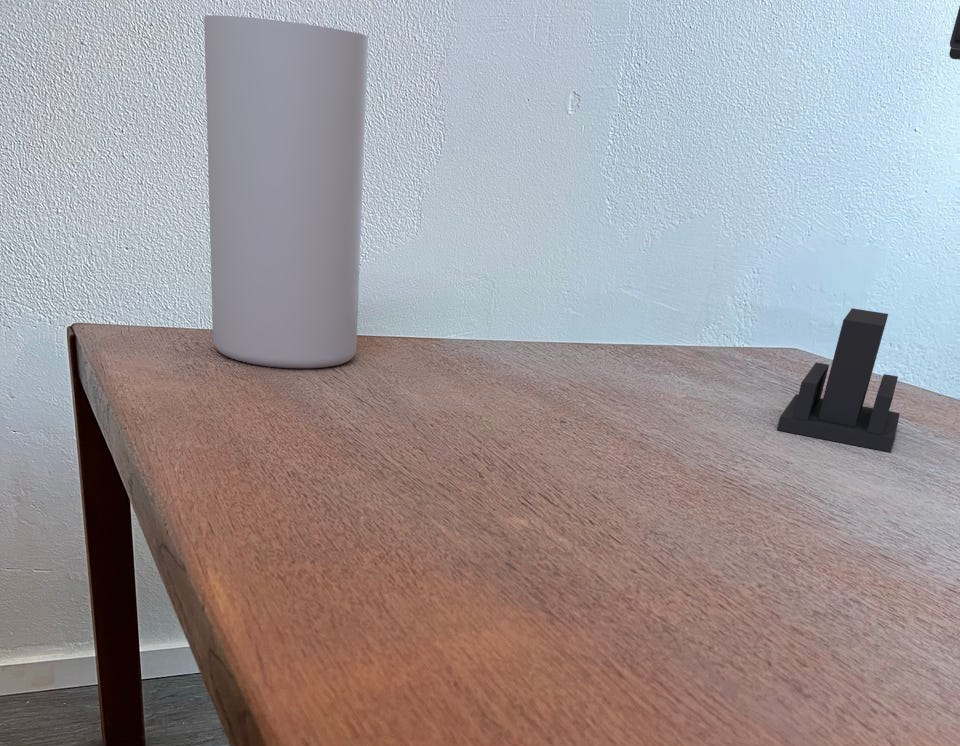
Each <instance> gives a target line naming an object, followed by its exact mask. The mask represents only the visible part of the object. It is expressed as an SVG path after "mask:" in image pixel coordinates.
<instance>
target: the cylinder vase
mask: <svg viewBox="0 0 960 746" xmlns="http://www.w3.org/2000/svg"><path fill="white" fill-rule="evenodd" d="M203 22H204V23H203V25H204V29H203V30H204V58H205V59H204V60H205V63H204V64H205V97H206V98H205V99H206V132H207V136H206V137H207V138H206V139H207V169H208V170H207V172H208V173H207V175H208V205H209V208H208V209H209V212H208V213H209V241H210V243H209V245H210V278H211V279H210V280H211V284H210V285H211V314H212V315H211V316H212V317H211V318H212V342H213V346H214V348H215V349H216V350H217V351H218V352H219V353H220V354H222V356H223V355H224V356H225V357H228V358H230V359H232V360H234V359H235V361H238V362H241V361H242V362H241V363H245V362H246V363H245V364H251V365H255V366H263V367H270V368H280V369H321V368H322V369H323V368H330V367H335V366H339V365H344V364H345V363H347V362H350V361H351V360H352V359H353V358H354V357H355V355H356V352H357V345H358V344H357V341H358V314H359V291H360V289H359V288H360V266H361V264H360V263H361V239H362V238H361V237H362V213H363V211H362V209H363V187H364V186H363V183H364V159H365V135H366V106H367V84H368V83H367V81H368V56H369V55H368V54H369V53H368V52H369V36H367V35H365V34H362V33H358V32H355V31H349V30H344V29H339V28H333V27H328V26H321V25H314V24H309V23H301V22H294V21H285V20H276V19H268V18H260V17H259V18H258V17H248V16H235V15H218V14H217V15H211V14H210V15H205V16H204V17H203Z"/></svg>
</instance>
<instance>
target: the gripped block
mask: <svg viewBox="0 0 960 746" xmlns="http://www.w3.org/2000/svg"><path fill="white" fill-rule="evenodd" d="M888 317H889V313H885V312H879V311H872V310H865V309H861V308H854V307H853V308H851V309H850V310H849V312H848V313H847V314H846V316H845V317H844V319H843V320H842V324H841V328H840V331H839V335H838V339H837V343H836V346H835V350H834V353H833V354H834V355H833V359H832V362H831V365H830V370H829V373H828V376H827V377H828V378H827V381H826V385H825V388H824V389H825V390H824V392H823V397H822V399H823V401H822V404H821V408H820V412H819V416H818V420H820V421H825V422H830V423H836V424H841V425H846V426H851V427H855V426H856V424H857V421H858V418H859V415H860V413H861V410H862V407H863V406H864V404H865V400H866V397H867V392H868V388H869V385H870V381H871V378H872V374H873V371H874V367H875V365H876V364H875V363H876V360H877V357H878V353H879V350H880V347H881V342H882V339H883V335H884V331H885V328H886V325H887V321H888Z"/></svg>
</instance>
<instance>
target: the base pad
mask: <svg viewBox="0 0 960 746" xmlns="http://www.w3.org/2000/svg"><path fill="white" fill-rule="evenodd" d="M829 367H830V364H827V363H823V362H822V363H821V362H815V363H814V364H813V366H812V367H811V368H810V370H809V371H808V372H807V374H806V375H805V377H804V378H803V379H802V380H801V383H800V387H799V391H798V394H797V393H795V395H794V396H793V397H792V399H791V401H790V402H789V403H788V405H787V406H786V408H785V409H784V410H783V412H782V413H781V415H780V416H779V418H778V419H779V420H778V424H777V428H776V431H780V432H784V433H789V434H794V435H799V436H804V437H810V438H816V439H820V440H824V441H831V442H835V443H841V444H845V445H851V446H856V447H861V448H866V449H872V450H875V451H882V452H888V453H891V452H892V450H893V446H894V443H895V439H896V435H897V430H898V424H899V420H900V415H901V414H900V412H897V411H891V409H890V408H891V407H892V402H893V399H894V395H895V390H896V386H897V382H898V380H899V379H898V378H899V376H898V375H892V374H886V373H883V375H882V378H881V381H880V383H879V387H878V390H877V393H876V396H875V400H874V403H873V406H872V407H869V406H864V405H863V407H862V410H861V413H860V415H859V418H858V421H857V424H856V426H855V427H851V426H846V425H841V424H836V423H830V422H825V421H820V420H818V416H819V412H820V408H821V404H822V401H823V398H822V395H823V391H824V387H825V382H826V379H827V377H828V372H829Z"/></svg>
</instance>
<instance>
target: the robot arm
mask: <svg viewBox="0 0 960 746" xmlns="http://www.w3.org/2000/svg"><path fill="white" fill-rule="evenodd" d="M949 47H950V49H949V53H948V55H949V58H950V59H952V60H960V6H959V7H958V11H957V16H956V18H955V22H954V25H953V29H952V33H951V36H950V40H949Z"/></svg>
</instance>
